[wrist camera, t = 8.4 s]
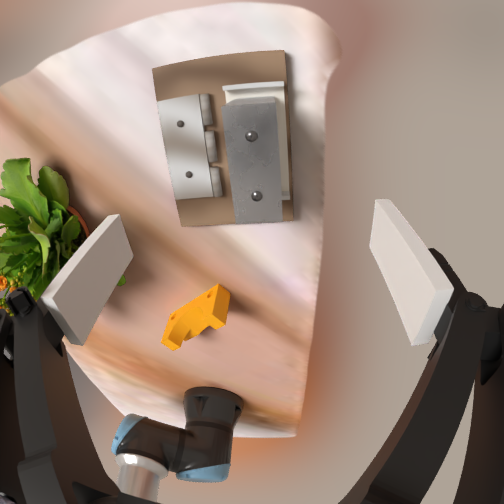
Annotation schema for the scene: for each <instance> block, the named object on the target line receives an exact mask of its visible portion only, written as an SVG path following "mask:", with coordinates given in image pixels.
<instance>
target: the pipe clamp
mask: <svg viewBox="0 0 504 504" xmlns="http://www.w3.org/2000/svg"><path fill="white" fill-rule="evenodd" d="M229 300H230V293H229V292H228V291H227V290H226V289H224V288H223V287H222V286H221V285H220V284H217V285H216V286H214V287H213V288H211V289H210V290H208V291H206V292H205V293H203V294H202V295H200V296H199V297H197V298H195V299H194V300H192V301H191V302H189V303H188V304H186V305H184V306H183V307H181V308H180V309H178V310H177V311H175V312H173V313H172V314H170V317H169V320H168V323H167V326H166V329H165V332H164V335H163V338H162V341H161V343H162V344H164V345H165V346H167V347H168V348H170V349H171V350H173V351H174V350H176V349H178V348H180V347H181V344H182V342H183V340H184V341H187V340H189V339H191V338H193V337H195V336H197V335H199V333H200V332H201V331H202V330H204V329H205V328H206V327H208V326H209V325H210V326H211V327H213V328H214V329H215V330H216V329H218V328H220V327H222V326H224V325H226V319H227V313H228V306H229Z"/></svg>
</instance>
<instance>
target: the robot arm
mask: <svg viewBox="0 0 504 504" xmlns="http://www.w3.org/2000/svg"><path fill="white" fill-rule="evenodd" d="M369 247H370V249H371V252H372V254H373V256H374V258H375V260H376V262H377V264H378V266H379V268H380V271H381V273H382V275H383V277H384V279H385V282H386V284H387V286H388V288H389V291H390V293H391V295H392V298H393V300H394V303H395V305H396V307H397V310H398V312H399V315H400V317H401V320H402V322H403V325H404V327H405V330H406V333H407V335H408V338H409V341H410V343H411V346H416V345H421V344H427V343H429V341H430V339H431V337H432V335H433V333H434V334H435V337H436V339H437V342H436V344H435V346H434V348H433V349H432V351H431V353H430V354H429V356H428V359H429V360H428V362H427V365H426V367H425V369H424V371H423V373H422V376H421V378H420V380H419V382H418V384H417V386H416V388H415V390H414V392H413V394H412V396H411V398H410V400H409V402H408V404H407V406H406V408H405V409H404V411H403V413H402V415H401V416H400V418H399V420H398V422H397V423H396V425H395V427H394V428H393V430H392V432H391V433H390V435H389V437H388V438H387V440H386V441H385V443H384V445H383V446H382V448H381V449H380V451H379V452H378V454H377V455H376V457H375V458H374V459H373V461H372V462H371V464H370V465H369V467H368V468H367V469H366V471H365V472H364V473H363V475H362V476H361V477H360V479H359V480H358V481H357V483H356V484H355V485H354V486H353V488H352V489H351V490H350V492H349V493H348V494H347V495H346V496H345V497H344V498H343V499H342V500H341V501H340V502H339V503H338V504H420V503H421V501H422V499H423V497H424V496H425V494H426V493H427V491H428V489H429V487H430V486H431V484H432V482H433V480H434V478H435V477H436V475H437V473H438V471H439V469H440V467H441V465H442V463H443V461H444V459H445V457H446V455H447V452H448V450H449V448H450V446H451V444H452V441H453V439H454V437H455V434H456V432H457V430H458V427H459V424H460V421H461V419H462V416H463V414H464V411H465V408H466V405H467V402H468V399H469V396H470V393H471V390H472V386H473V383H474V380H475V385H474V400H473V412H472V419H471V427H470V434H469V440H468V446H467V451H466V456H465V461H464V466H463V471H462V474H461V478H460V482H459V486H458V489H457V493H456V496H455V499H454V502H453V504H504V304H503V306H502V307H501V308H495V307H489V306H488V305H487V303H486V301H485V300H484V299H483V298H482V297H481V296H479V295H478V294H476V293H473V292H467V290H466V288H465V287H464V285H463V284H462V282H461V281H460V279H459V278H458V276H457V275H456V273H455V272H454V271H453V269H452V268H451V266H450V265H448V262H447V261H446V259H445V258H444V256H443V255H442V254H441V253H439V252H438V251H437V250H435V249H434V248H430V249H428V248H427V247H426V246H425V244H424V243H423V242H422V240H421V239H420V238H419V236H418V235H417V234H416V232H415V231H414V230H413V228H412V227H411V226H410V224H409V223H408V222H407V220H406V219H405V218H404V217H403V215H402V214H401V213H400V212H399V210H398V209H397V208H396V207H395V205H394V204H393V203H392V202H391V201H390V200H389V199H376V200H375V208H374V217H373V224H372V231H371V238H370V245H369ZM133 257H134V256H133V253H132V250H131V247H130V244H129V241H128V239H127V236H126V233H125V230H124V226H123V223H122V220H121V217H120V214H117V215H109V216H107V218H106V219H105V220H104V221H103V222H102V223H101V224H100V225H99V226H98V227H97V228H96V229H95V231H94V232H93V233H92V234H91V235H90V236H89V237H88V238H87V239H86V241H85V242H84V243H83V244H82V245H81V246H80V248H79V249H78V250H77V251H76V252H75V253H74V255H73V256H72V257H71V258H70V259H69V261H68V262H67V263H66V264H65V266H64V267H63V268H62V269H61V270H60V271H59V272H58V273H57V274H56V276H55V278H53V280H52V281H51V282H50V284H49V285H48V286H47V287H46V289H45V290H44V292H43V293H42V294H41V296H40V297H39V298H38V300H37V301H35V300H34V298H33V296H32V295H31V293H30V291H29V289H28V288H27V287H26V286H21V287H18V288H17V289H15V290H14V291H12V292H11V293H10V294H9V296H8V297H7V299H6V304H7V306H8V307H9V309H10V310H11V312H12V313H13V315H14V316H9V314H8V313H7V311H6V310H5V309H3V308H2V309H0V504H160V503H157V495H158V489H159V482H160V480H161V479H163V478H165V477H167V475H168V471H172V472H175V473H176V477H177V479H180V480H185V481H192V482H222V481H224V480H226V479H227V477H228V473H229V467H230V465H231V464H230V459H231V449H232V439H233V430H234V427H235V425H236V423H237V421H238V419H239V417H240V415H241V413H242V410H243V401H242V399H241V398H240V397H239V396H237V395H236V394H234V393H231V392H229V391H226V390H222V389H218V388H212V387H196V388H191V389H189V390H187V391H186V392H185V395H184V401H183V402H184V409H185V416H186V426H185V429H182V428H178V427H175V426H171V425H168V424H164V423H161V422H158V421H155V420H151V419H148V417H142V416H139V415H136V414H129V415H127V416H125V418H124V419H123V420H122V422H121V424H120V426H119V428H118V430H117V432H116V436H115V438H114V440H113V443H112V449H111V450H112V452H113V453H114V454H115V455H116V458H115V460H116V463H117V464H118V466H119V467H120V470H119V474H118V478H117V482H116V484H115V483H114V482H113V481H112V480H111V479H110V478H109V477H108V475H107V474H106V472H105V470H104V468H103V466H102V464H101V461H100V459H99V457H98V454H97V452H96V449H95V447H94V444H93V442H92V439H91V437H90V434H89V431H88V428H87V425H86V423H85V420H84V417H83V413H82V410H81V407H80V404H79V401H78V398H77V394H76V390H75V387H74V383H73V379H72V375H71V371H70V366H69V362H68V358H67V353H66V348H65V345H64V343H63V341H62V338H63V336H64V335H65V336H66V337H67V339H68V340H69V342H70V343H71V344H76V345H82V346H83V345H84V343H85V341H86V339H87V337H88V335H89V333H90V331H91V329H92V328H93V326H94V324H95V322H96V320H97V318H98V316H99V315H100V313H101V311H102V309H103V307H104V306H105V304H106V302H107V300H108V298H109V297H110V295H111V293H112V292H113V290H114V288H115V286H116V285H117V283H118V281H119V280H120V278H121V276H122V275H123V273H124V271H125V270H126V268H127V266H128V265H129V263H130V262H131V260H132V258H133ZM4 348H5V349H6V350H7V351H8V353H9V354H10V355H11V358H10V360H9V359H8V358H7V357H6V356H5V355H4Z"/></svg>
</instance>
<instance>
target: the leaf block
mask: <svg viewBox="0 0 504 504" xmlns="http://www.w3.org/2000/svg"><path fill="white" fill-rule="evenodd" d="M221 110H222V119H223V127H224V135H225V143H226V151H227V159H228V167H229V175H230V183H231V191H232V199H233V206H234V214H235V221H236V224H248V223H269V222H283V215H282V192H281V172H280V155H279V138H278V123H277V109H276V101H275V97H274V96H259V97H246V98H236V99H233V100H232V101H230V102H228V103H227V104H225V105H223V106H222V107H221Z"/></svg>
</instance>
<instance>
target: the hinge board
mask: <svg viewBox="0 0 504 504" xmlns="http://www.w3.org/2000/svg"><path fill="white" fill-rule="evenodd" d="M152 72H153V79H154V86H155V93H156V100H157V106H158V112H159V118H160V124H161V130H162V135H163V141H164V146H165V152H166V157H167V162H168V167H169V172H170V177H171V182H172V186H173V191H174V196H175V200H176V205H177V209H178V214H179V218H180V222H181V226H182V227H185V226H201V225H217V224H235V223H236V221H235V214H234V206H233V199H232V191H231V183H230V175H229V167H228V159H227V151H226V143H225V135H224V127H223V119H222V110H221V107H222V106H223V105H225V104H226V96H225V91H223V88H222V86H227V85H236V84H246V83H259V82H276V81H284V98H285V113H286V129H287V148H288V169H289V192H290V200H282V215H283V221H293V190H292V162H291V140H290V121H289V105H288V90H287V77H286V64H285V53H284V50H274V51H257V52H245V53H235V54H227V55H219V56H212V57H206V58H200V59H194V60H189V61H184V62H179V63H174V64H169V65H165V66H161V67H157V68H153V69H152Z"/></svg>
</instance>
